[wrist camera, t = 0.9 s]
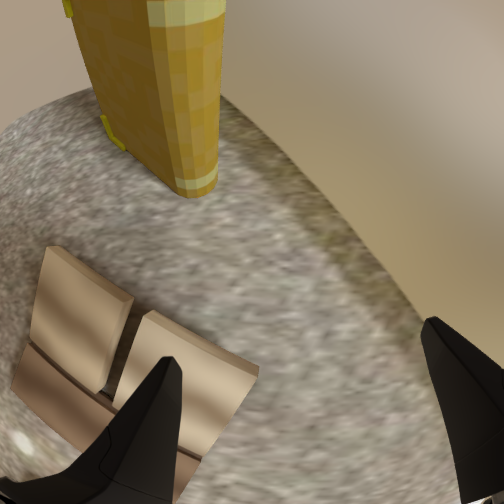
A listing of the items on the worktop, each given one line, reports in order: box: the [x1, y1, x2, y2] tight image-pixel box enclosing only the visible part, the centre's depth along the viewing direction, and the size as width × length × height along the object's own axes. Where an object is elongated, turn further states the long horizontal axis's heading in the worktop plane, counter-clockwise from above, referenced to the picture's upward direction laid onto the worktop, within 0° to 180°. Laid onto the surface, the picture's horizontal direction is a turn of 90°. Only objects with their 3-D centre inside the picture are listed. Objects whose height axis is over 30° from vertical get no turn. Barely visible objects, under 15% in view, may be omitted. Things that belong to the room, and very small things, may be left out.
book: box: [62, 0, 226, 198], centre depth 22 cm, size 17×7×25 cm, turn 49°
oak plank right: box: [112, 310, 259, 457], centre depth 22 cm, size 11×10×2 cm
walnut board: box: [10, 341, 203, 504], centre depth 21 cm, size 8×22×2 cm, turn 63°
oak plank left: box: [29, 246, 134, 394], centre depth 23 cm, size 11×10×2 cm
